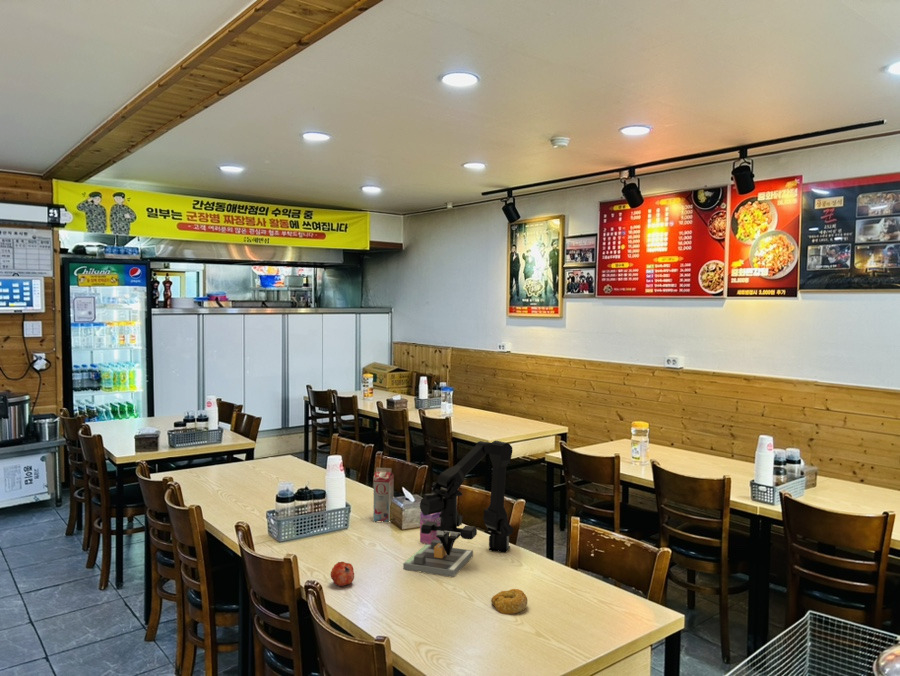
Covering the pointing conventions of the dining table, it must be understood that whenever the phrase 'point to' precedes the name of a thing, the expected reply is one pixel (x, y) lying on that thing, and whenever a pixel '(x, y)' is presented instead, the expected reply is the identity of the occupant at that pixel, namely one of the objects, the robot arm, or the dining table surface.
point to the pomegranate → (342, 573)
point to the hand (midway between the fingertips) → (448, 554)
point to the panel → (438, 560)
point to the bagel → (510, 601)
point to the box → (432, 535)
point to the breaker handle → (439, 551)
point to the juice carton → (383, 493)
